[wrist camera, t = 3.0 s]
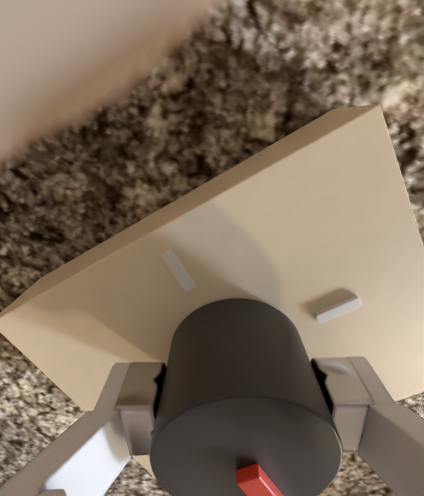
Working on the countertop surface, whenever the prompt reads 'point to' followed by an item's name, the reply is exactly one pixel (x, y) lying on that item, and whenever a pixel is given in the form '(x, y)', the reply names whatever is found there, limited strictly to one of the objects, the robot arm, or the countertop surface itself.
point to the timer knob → (242, 408)
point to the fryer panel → (249, 264)
